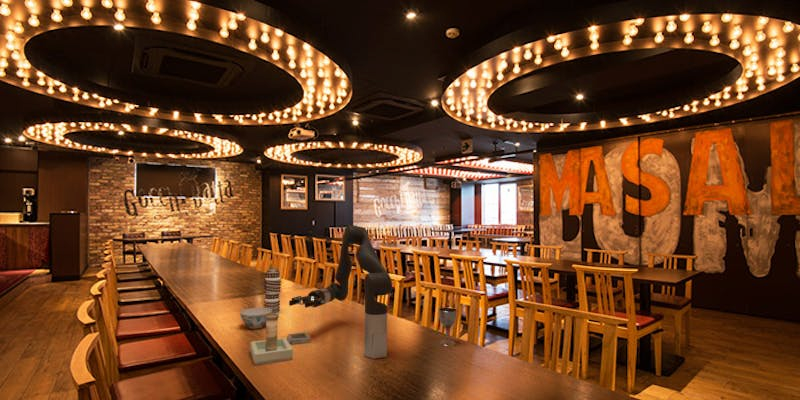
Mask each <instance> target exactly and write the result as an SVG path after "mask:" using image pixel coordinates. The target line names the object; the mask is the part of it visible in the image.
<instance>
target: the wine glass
mask: <svg viewBox="0 0 800 400" xmlns="http://www.w3.org/2000/svg"><path fill="white" fill-rule="evenodd" d="M457 311H458V310H457V309H456V308H455V307H446V306H445V307H439V309H438V317H439V321H440V323H441V324H442V326H443V327H444V329H445V331H446V340H445V339H444V340H441V341H439V345H441V346H449V347H451V346H455V345H456V342H455V341H453V340H449V335H450V329H451V328H452V327H453V326H454V325H455V323H456V320H457V316H458V315H457V314H458V313H457Z"/></svg>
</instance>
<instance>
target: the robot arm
mask: <svg viewBox="0 0 800 400" xmlns="http://www.w3.org/2000/svg"><path fill="white" fill-rule="evenodd" d="M369 236H370V235H369V233H368V231H367V229H366V228H365V227H362V226H358V225H353V224H349V225H346V226H345V229H344V232H343V236H342V241H341V242H342V243H341V249H340V256H339V261H338V264H337V265H338V267H337V270H336V273H335V275H334V278H335V281H336V282H331V283H330V284H329V285H328V286H327V287H325V288H319V289H316V290H315V289H314V290H312V291H310V292H309V293H308V294H307V295H305V296H302V295H298V296H295V297H291V299H290V300H289V301H288V305H289V306H290V307H291V306H295V305H300V306H304V308H311V307H312V308H318V307H320V306H323V305H325V304H328V303H330V302H333V301H334V300H335V299H336V300H338V301H340V302H343V301H345V300H346V299H347V297H348V296H349V280H350V275H351V272H352V268H353V267H352V266H353V264H352V261H351V257H350V253H349V247H350V245H351V244H352V245H357V246H359V247H358V248H357V249H356V251H355V258H356V260H357V263H358V265H359V267H360V268H361V269H362V270H364V271H365V272H367V273H366V274H365V276H364V282H363V283H364V285H363V287H364V288H363V289H364V290H363V291H364V339H363V340H364V345H363V346H364V348H363V349H364V351H363V353H364V356H365V357H367V358H370V359H373V360H374V359H375V360H376V359H382V358H387V357H388V350H387V349H388V306H387V304H386V303H383V302H380V301H377V300H375V297H377V296H378V297H379V296H386V295H389V294H391V292H392V291H393V283H392V279H391V276H390V274H389V272H388V270H386V268H385V267H384V266H383V264H382V262H381V261H380V259H379V257H378V254H377V252H376V250H375V248H374V247H373V244H372V243H371V239H370V237H369Z"/></svg>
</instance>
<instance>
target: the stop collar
mask: <svg viewBox="0 0 800 400" xmlns="http://www.w3.org/2000/svg"><path fill="white" fill-rule="evenodd" d="M286 339H287V341H288V343H289V344H290V345H293V346H295V345H302V344H303V345H304V344H308V343H310V342H311V335H310V334H309V333H308V332H305V331H304V332H296V333H288V335H286Z"/></svg>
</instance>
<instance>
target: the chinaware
mask: <svg viewBox="0 0 800 400" xmlns="http://www.w3.org/2000/svg"><path fill="white" fill-rule="evenodd" d="M239 312H240V313H239V314H240V317H241V320H242V321H243V323H244V324H245V325H246V326H248V328H249V329H253V330H254V329H261V328H263V327H264V325H266V315H268V314H271V313H272V310H271V309H269V308H264V307H253V308H247V309H243V310H241V311H239Z"/></svg>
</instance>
